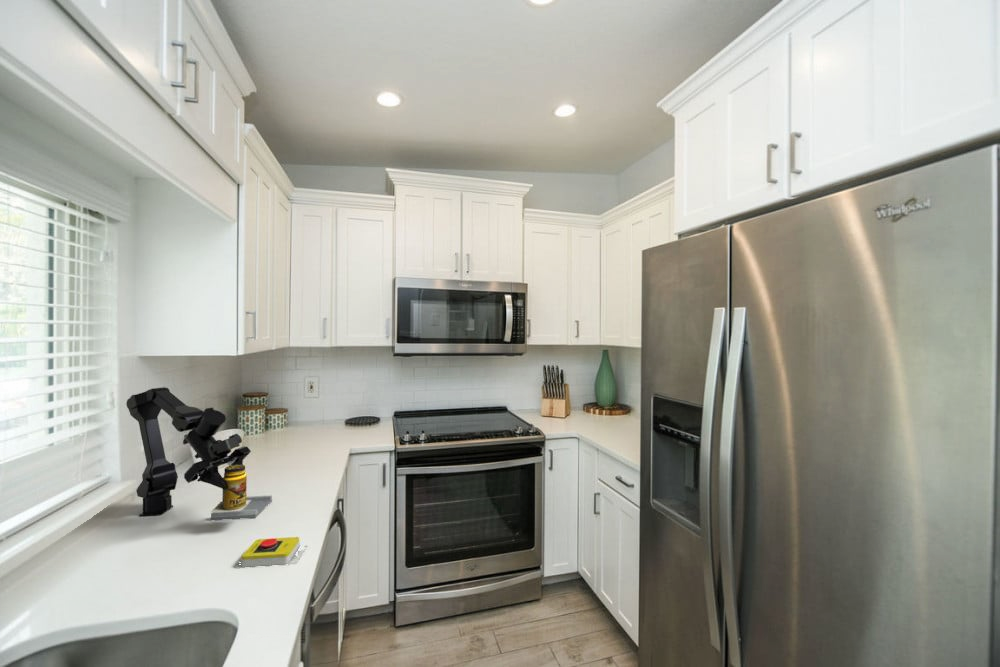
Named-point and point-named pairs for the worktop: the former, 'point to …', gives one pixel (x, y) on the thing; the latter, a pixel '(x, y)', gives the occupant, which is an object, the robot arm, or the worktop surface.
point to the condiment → (234, 489)
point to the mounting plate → (251, 505)
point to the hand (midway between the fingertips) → (236, 484)
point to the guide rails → (242, 512)
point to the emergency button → (272, 552)
